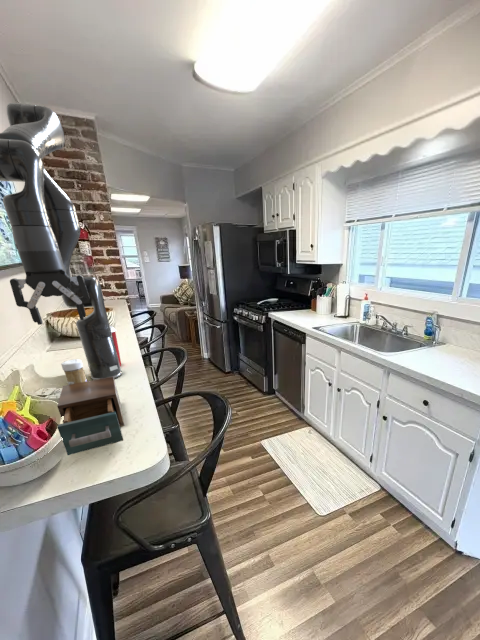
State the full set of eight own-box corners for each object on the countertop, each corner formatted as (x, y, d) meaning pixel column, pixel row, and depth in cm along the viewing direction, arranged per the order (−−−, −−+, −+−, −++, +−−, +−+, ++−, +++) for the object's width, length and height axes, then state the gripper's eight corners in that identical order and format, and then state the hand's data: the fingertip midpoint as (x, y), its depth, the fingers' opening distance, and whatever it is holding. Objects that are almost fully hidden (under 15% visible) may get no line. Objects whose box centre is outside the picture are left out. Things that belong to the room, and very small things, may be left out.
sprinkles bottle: (95, 407, 86) (81, 361, 81) (76, 412, 84) (60, 365, 79) (94, 401, 90) (80, 357, 84) (75, 405, 87) (61, 360, 82)
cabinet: (124, 425, 76) (115, 394, 73) (69, 439, 71) (57, 406, 68) (121, 404, 87) (113, 376, 84) (72, 415, 82) (62, 385, 79)
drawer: (124, 449, 65) (116, 421, 62) (66, 466, 60) (54, 436, 58) (120, 417, 78) (113, 393, 76) (71, 428, 74) (63, 403, 71)
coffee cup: (123, 361, 124) (114, 324, 118) (125, 367, 117) (116, 328, 111) (99, 365, 120) (88, 327, 114) (100, 371, 113) (89, 331, 107)
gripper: (77, 249, 75) (95, 316, 81) (2, 250, 69) (28, 322, 75) (75, 248, 69) (95, 320, 75) (-7, 249, 63) (22, 328, 69)
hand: (61, 321), depth 75 cm, fingers open, 8 cm apart
